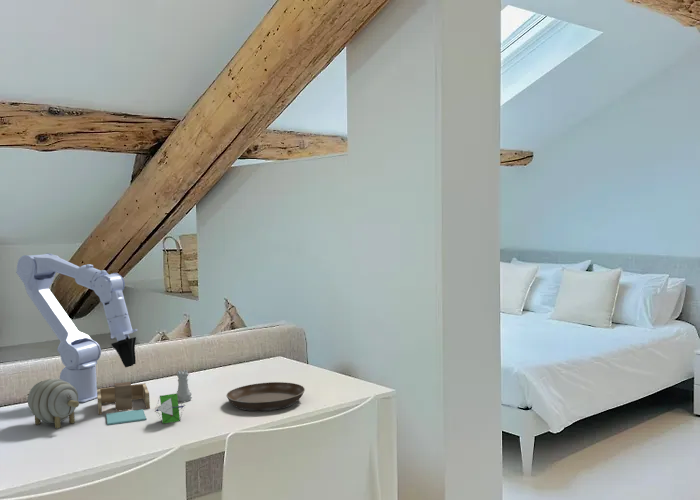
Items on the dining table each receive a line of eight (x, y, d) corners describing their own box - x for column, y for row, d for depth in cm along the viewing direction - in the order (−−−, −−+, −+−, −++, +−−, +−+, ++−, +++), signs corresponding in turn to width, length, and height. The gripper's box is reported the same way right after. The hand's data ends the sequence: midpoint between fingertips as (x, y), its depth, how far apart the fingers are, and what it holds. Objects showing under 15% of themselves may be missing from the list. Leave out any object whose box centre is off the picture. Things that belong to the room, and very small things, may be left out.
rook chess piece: (187, 402, 182) (186, 373, 181) (172, 402, 183) (171, 372, 182) (194, 398, 186) (193, 369, 186) (179, 397, 187) (178, 369, 187)
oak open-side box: (97, 403, 184) (97, 388, 183) (145, 397, 188) (145, 383, 188) (98, 414, 173) (97, 399, 172) (149, 408, 177) (149, 393, 177)
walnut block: (115, 407, 179) (114, 383, 179) (131, 405, 181) (130, 381, 180) (116, 411, 176) (115, 386, 175) (132, 409, 177) (131, 385, 177)
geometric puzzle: (152, 409, 168) (154, 388, 164) (180, 405, 171) (182, 384, 167) (156, 432, 163) (158, 411, 159) (185, 428, 166) (188, 407, 162)
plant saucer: (210, 409, 175) (210, 397, 175) (255, 390, 194) (254, 379, 193) (279, 418, 166) (278, 404, 166) (318, 396, 185) (318, 384, 184)
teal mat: (106, 415, 172) (106, 413, 172) (143, 410, 175) (143, 409, 175) (107, 425, 163) (107, 423, 163) (146, 419, 167) (146, 418, 167)
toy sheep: (48, 415, 174) (46, 372, 173) (98, 421, 167) (95, 377, 166) (13, 427, 164) (10, 382, 164) (63, 434, 157) (61, 387, 157)
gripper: (130, 312, 178) (143, 362, 177) (134, 313, 192) (147, 359, 191) (102, 320, 176) (116, 370, 175) (109, 320, 190) (121, 367, 189)
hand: (130, 365), depth 183 cm, fingers open, 7 cm apart
